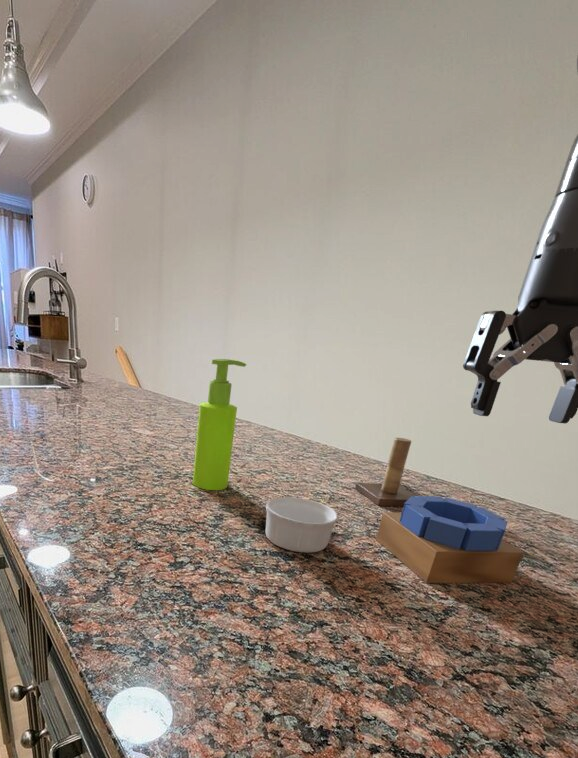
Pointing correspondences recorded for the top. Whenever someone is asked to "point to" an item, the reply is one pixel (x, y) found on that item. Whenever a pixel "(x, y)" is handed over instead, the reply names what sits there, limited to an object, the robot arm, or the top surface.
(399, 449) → the post
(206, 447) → the soap dispenser
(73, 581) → the top surface
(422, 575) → the platform
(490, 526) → the ring
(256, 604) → the top surface
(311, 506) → the ramekin
